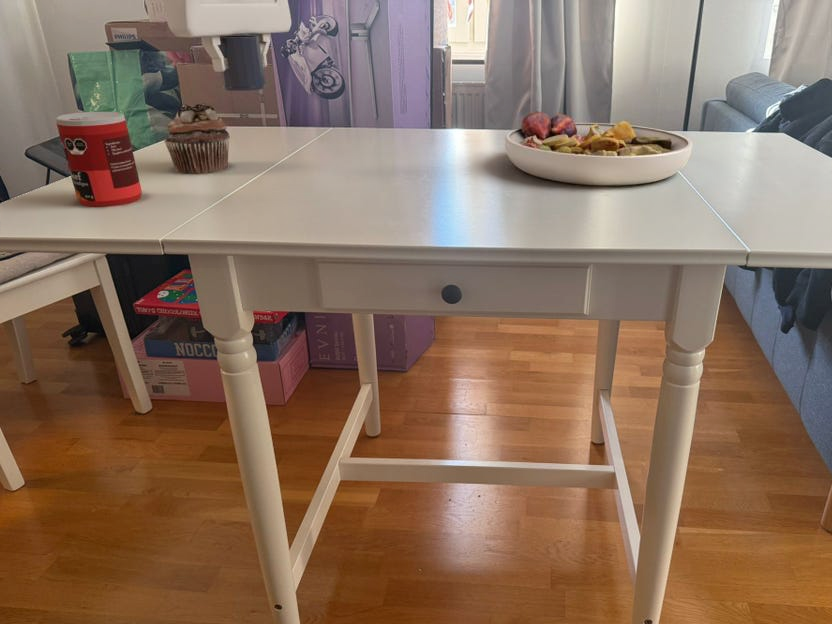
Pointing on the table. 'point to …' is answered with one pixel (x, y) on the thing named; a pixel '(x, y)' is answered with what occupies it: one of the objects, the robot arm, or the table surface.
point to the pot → (242, 63)
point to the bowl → (595, 151)
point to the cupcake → (198, 140)
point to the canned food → (100, 158)
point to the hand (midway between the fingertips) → (241, 69)
